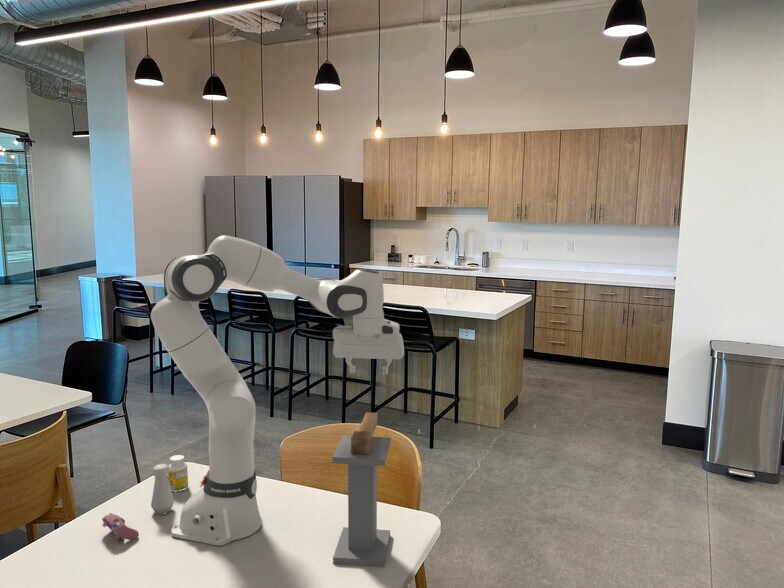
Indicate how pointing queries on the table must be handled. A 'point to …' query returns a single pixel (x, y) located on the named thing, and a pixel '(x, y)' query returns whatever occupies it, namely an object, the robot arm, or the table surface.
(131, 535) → the pink toy figure
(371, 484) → the charcoal stand
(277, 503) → the table surface
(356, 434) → the oak shaft
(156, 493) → the salt shaker
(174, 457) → the supplement bottle
